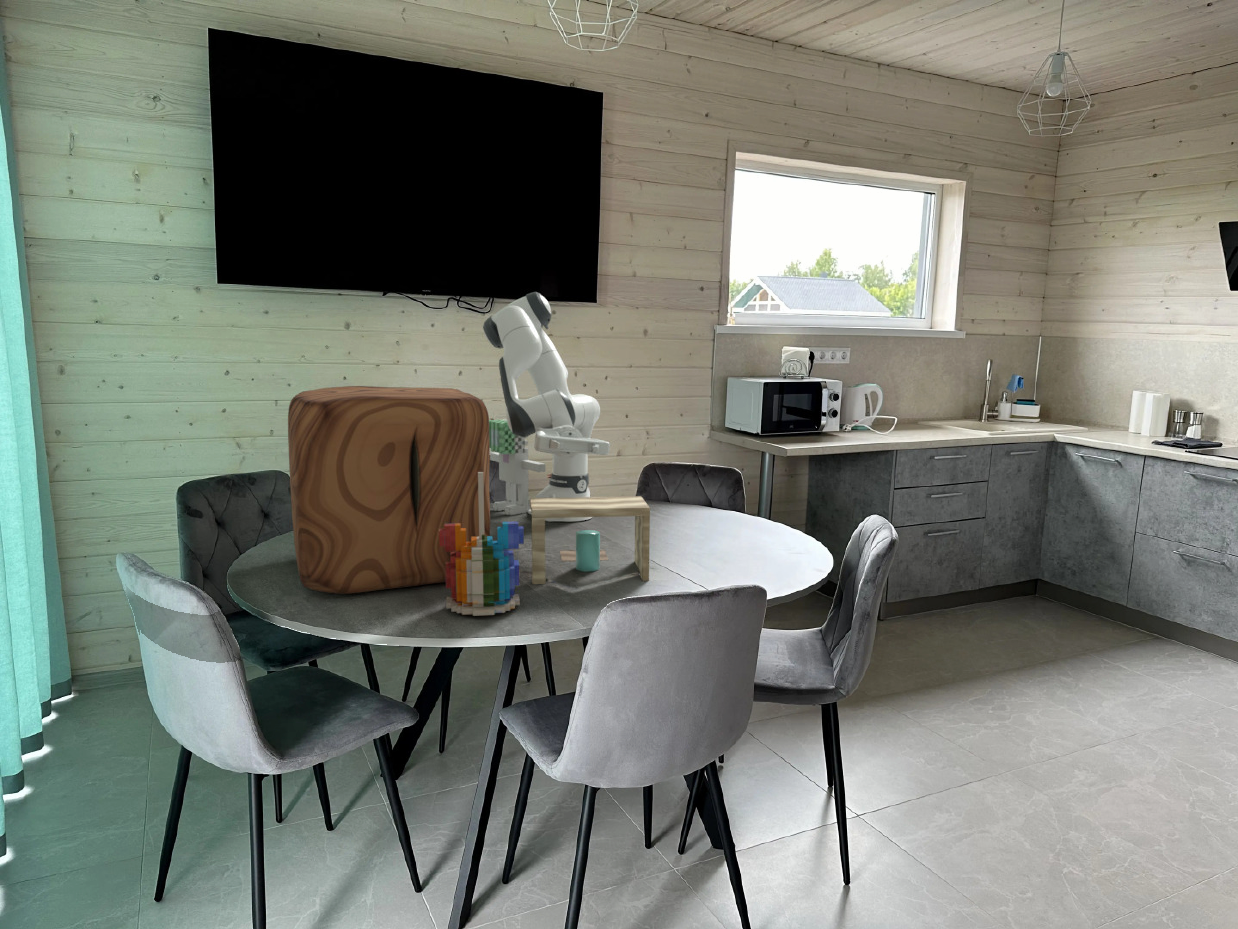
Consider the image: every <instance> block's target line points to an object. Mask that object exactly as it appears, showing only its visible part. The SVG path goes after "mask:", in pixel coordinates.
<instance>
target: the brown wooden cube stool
mask: <svg viewBox="0 0 1238 929" xmlns="http://www.w3.org/2000/svg"><path fill="white" fill-rule="evenodd" d="M489 420H490V418H489V412H488V409H487V407H486V405H485V402H484V401H483V400H482V399H480V398H479V397H477V396H475V395H473V394H472V393H470V392H469V393H468V392H464V391H462V390H460V389H458V388H450V387H449V388H448V387H409V386H408V387H401V386H400V387H398V386H397V387H395V386H394V387H392V386H390V387H389V386H372V385H371V386H369V385H348V386H347V385H346V386H334V387H333V386H332V387H322V388H317V389H310V390H305V391H301V392H298V394H296V395H295V396H293V397H292V398H291V400H290V402H289V406H288V415H287V437H288V438H287V440H288V441H287V442H288V443H287V445H288V461H289V462H288V464H289V466H288V467H289V482H290V483H289V484H290V499H291V500H290V501H291V504H290V505H291V517H292V518H291V519H292V531H293V540H294V541H293V543H294V550H295V558H296V564H297V570H298V575H299V579H300V580H299V581H300V582H301V584H302V586H303V587H304V588H306V589H310V590H313V591H316V592H322V593H328V594H329V593H330V594H339V595H341V594H342V595H343V594H344V595H346V594H348V595H349V594H358V593H367V592H374V591H380V590H391V589H397V588H398V589H400V588H409V587H415V586H423V585H424V586H425V585H431V584H433V585H434V584H441V583H446V574H445V567H446V563H448V562H451V560H450V557H451V552H456V551H446V552H445V546H444V547H440V542H439V529H445V528H444V526H445V524H449V523H461V528H466V542H471V537H478V536H479V498H478V472H483V480H484V534H485V536H491V499H490V461H491V460H490V453H491V448H490V444H489Z"/></svg>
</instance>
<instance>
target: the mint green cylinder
mask: <svg viewBox="0 0 1238 929" xmlns="http://www.w3.org/2000/svg"><path fill="white" fill-rule="evenodd" d="M600 550H601V532H600V531H598V530H592V529H584V530H578V531H575V551H576V561H575V569H576V570H577V571H579V572H596V571H599V570H601V560H600Z"/></svg>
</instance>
